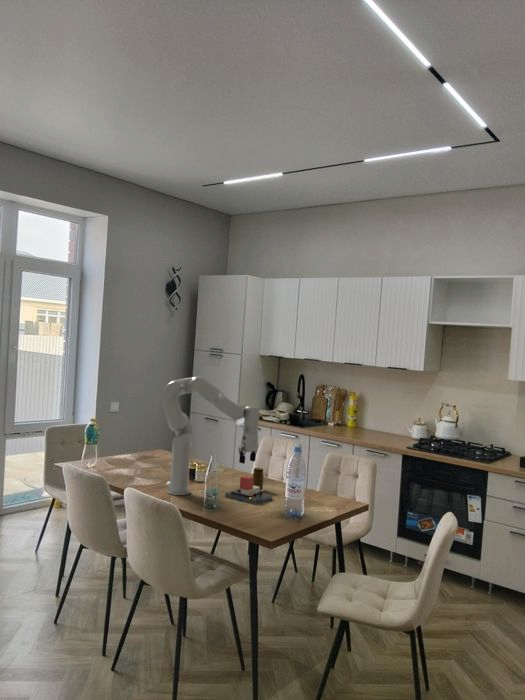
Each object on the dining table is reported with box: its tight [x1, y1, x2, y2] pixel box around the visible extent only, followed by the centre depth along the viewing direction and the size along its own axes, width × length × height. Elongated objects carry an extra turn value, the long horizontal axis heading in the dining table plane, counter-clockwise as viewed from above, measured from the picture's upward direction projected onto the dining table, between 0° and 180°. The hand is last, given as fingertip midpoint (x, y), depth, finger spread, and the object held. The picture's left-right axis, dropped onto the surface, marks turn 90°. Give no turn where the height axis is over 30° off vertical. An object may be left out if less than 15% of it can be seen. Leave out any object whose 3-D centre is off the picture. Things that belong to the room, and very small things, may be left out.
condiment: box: [252, 467, 264, 490], centre depth 316 cm, size 7×8×12 cm
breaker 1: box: [241, 489, 254, 496], centre depth 296 cm, size 5×5×3 cm
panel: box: [224, 488, 273, 506], centre depth 298 cm, size 20×15×3 cm
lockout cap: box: [239, 475, 254, 490], centre depth 297 cm, size 5×5×6 cm
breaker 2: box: [253, 485, 260, 494], centre depth 301 cm, size 5×5×3 cm
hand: (247, 461), depth 297 cm, fingers open, 9 cm apart
